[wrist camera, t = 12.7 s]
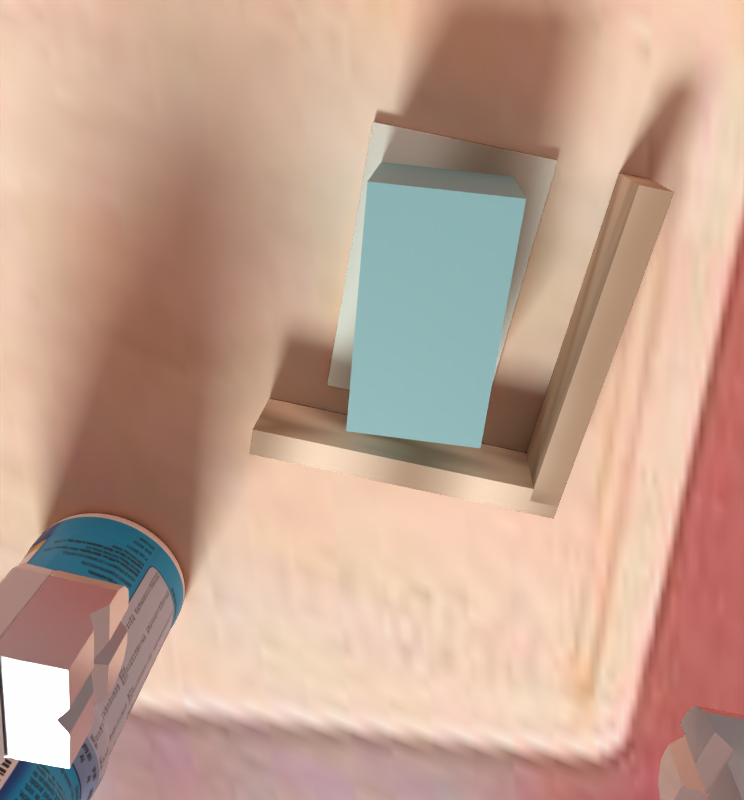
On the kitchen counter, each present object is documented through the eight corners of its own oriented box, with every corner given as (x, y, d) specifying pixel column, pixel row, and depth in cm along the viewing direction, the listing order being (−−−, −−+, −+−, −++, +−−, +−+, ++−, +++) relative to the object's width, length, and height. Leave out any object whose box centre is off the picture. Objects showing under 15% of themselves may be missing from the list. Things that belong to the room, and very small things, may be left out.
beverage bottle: (220, 607, 37) (10, 1108, 19) (96, 648, 40) (-196, 1131, 22) (133, 483, 34) (-211, 937, 16) (4, 535, 37) (-422, 985, 19)
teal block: (380, 162, 26) (367, 181, 22) (512, 176, 26) (526, 198, 22) (361, 377, 30) (346, 431, 26) (475, 391, 30) (480, 448, 26)
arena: (266, 421, 32) (249, 453, 29) (308, 107, 26) (292, 112, 24) (544, 480, 32) (553, 518, 29) (650, 179, 26) (674, 192, 23)
